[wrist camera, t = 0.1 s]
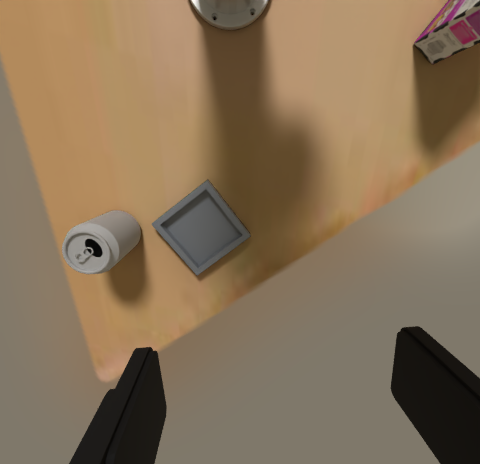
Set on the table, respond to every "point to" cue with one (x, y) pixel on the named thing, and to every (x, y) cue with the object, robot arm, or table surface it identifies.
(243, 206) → the table surface
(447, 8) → the candy bar box
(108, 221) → the can
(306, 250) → the table surface
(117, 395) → the robot arm
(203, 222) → the tray
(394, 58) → the table surface
